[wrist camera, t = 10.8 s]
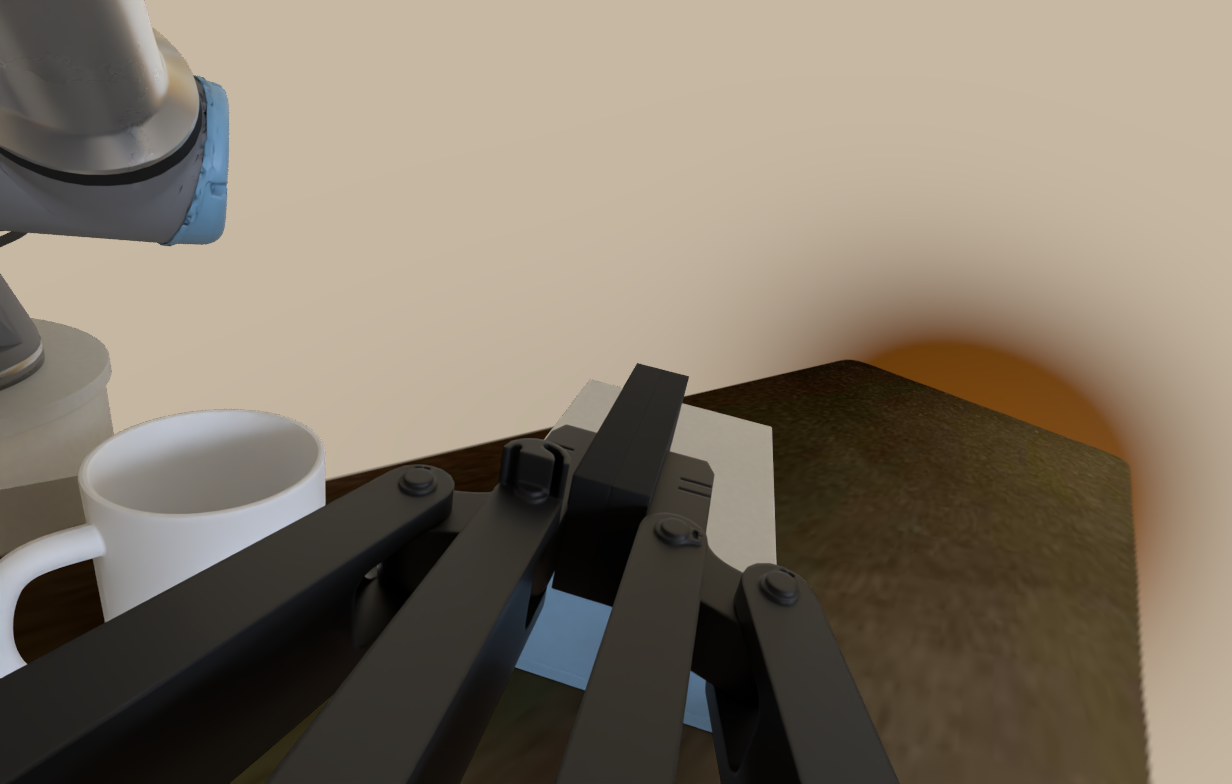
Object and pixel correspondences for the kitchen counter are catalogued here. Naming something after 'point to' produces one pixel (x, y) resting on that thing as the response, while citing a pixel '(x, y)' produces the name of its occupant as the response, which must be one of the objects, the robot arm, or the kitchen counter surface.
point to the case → (585, 648)
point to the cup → (173, 506)
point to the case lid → (735, 459)
